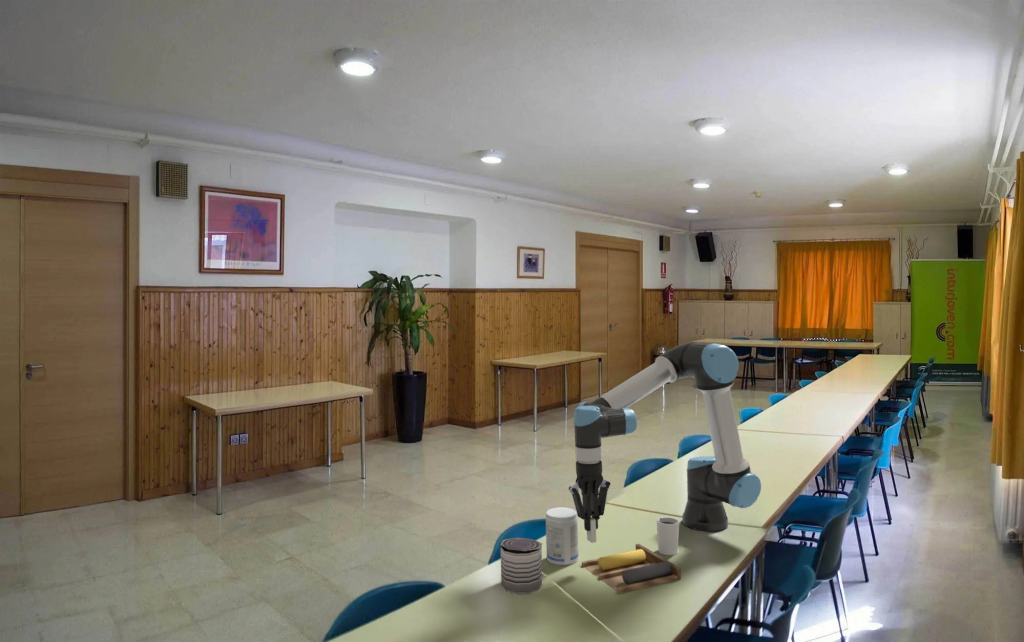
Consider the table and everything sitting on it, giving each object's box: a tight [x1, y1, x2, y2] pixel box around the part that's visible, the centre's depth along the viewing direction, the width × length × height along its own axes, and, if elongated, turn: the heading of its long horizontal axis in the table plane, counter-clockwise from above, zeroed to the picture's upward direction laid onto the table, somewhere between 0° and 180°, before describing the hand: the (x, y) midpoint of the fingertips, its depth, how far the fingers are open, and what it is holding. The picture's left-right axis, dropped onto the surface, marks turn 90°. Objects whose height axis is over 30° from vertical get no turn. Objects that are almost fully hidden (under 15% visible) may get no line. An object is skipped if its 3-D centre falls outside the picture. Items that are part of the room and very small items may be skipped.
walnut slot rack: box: [581, 543, 682, 594], centre depth 185 cm, size 20×20×3 cm
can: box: [499, 537, 543, 595], centre depth 178 cm, size 11×11×12 cm
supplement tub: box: [545, 506, 579, 566], centre depth 195 cm, size 10×10×15 cm
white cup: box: [656, 516, 680, 556], centre depth 199 cm, size 7×7×10 cm
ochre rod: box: [598, 549, 646, 571], centre depth 189 cm, size 14×4×4 cm
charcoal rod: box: [622, 560, 672, 584], centre depth 180 cm, size 14×4×4 cm, turn 114°
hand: (591, 540), depth 188 cm, fingers closed
